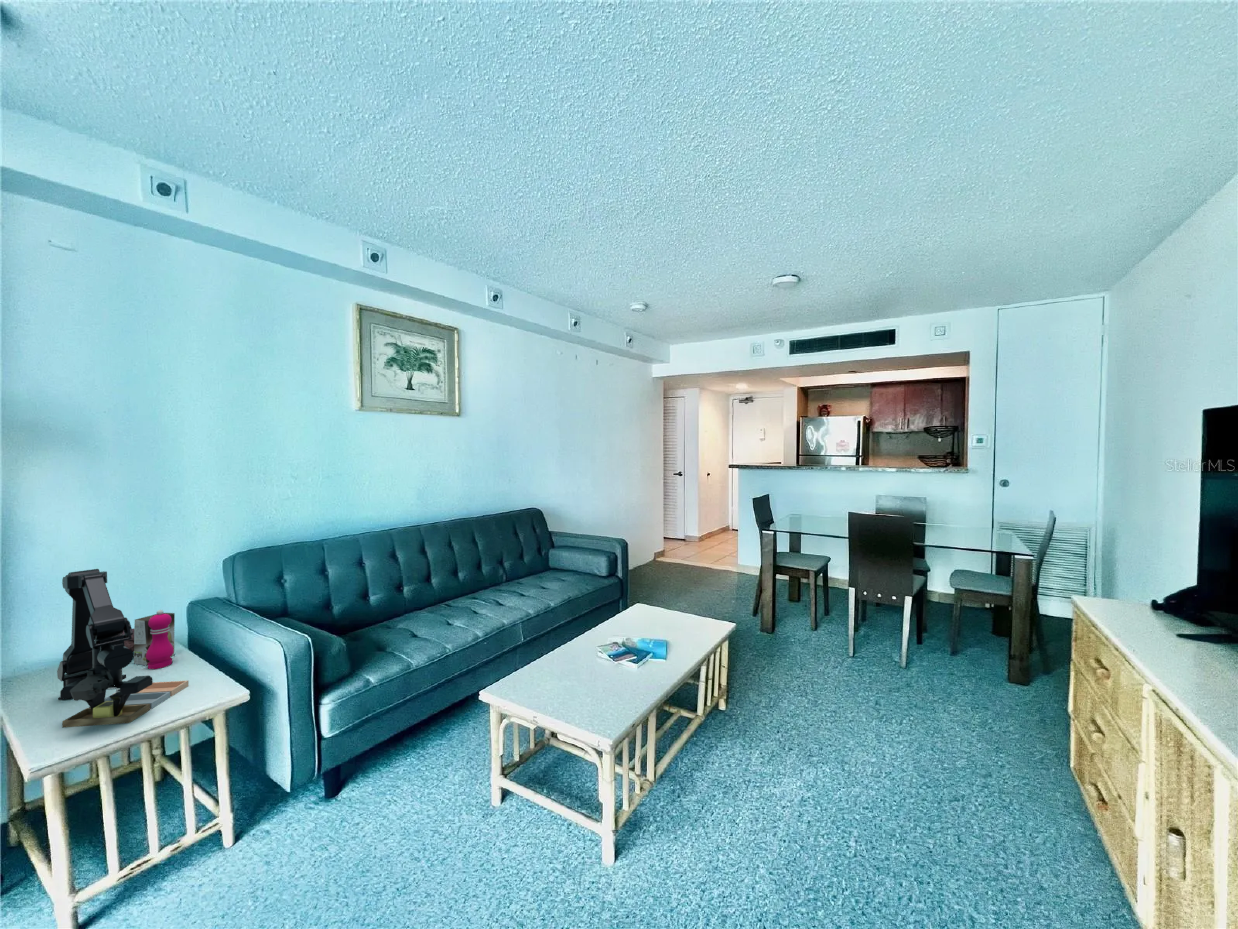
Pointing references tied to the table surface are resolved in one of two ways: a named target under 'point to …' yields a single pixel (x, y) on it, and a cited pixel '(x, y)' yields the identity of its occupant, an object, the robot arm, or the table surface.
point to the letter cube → (104, 710)
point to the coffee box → (147, 638)
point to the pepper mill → (159, 641)
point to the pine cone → (129, 642)
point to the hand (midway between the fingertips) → (107, 716)
